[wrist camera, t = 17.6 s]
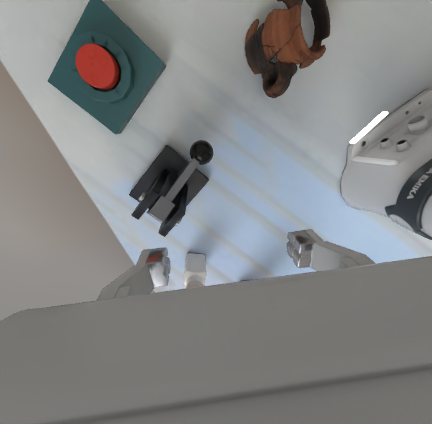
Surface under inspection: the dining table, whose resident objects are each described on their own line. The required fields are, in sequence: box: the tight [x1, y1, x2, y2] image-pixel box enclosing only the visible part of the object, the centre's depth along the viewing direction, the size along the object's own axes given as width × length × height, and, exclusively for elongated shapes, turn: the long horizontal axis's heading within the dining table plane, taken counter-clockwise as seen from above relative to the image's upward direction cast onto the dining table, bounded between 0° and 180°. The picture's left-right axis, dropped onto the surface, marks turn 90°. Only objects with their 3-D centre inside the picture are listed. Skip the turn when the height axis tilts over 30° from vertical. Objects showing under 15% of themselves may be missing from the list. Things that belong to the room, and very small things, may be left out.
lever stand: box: [129, 145, 209, 237], centre depth 31 cm, size 11×9×12 cm
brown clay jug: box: [245, 0, 330, 98], centre depth 28 cm, size 12×10×8 cm
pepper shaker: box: [183, 253, 206, 289], centre depth 40 cm, size 4×4×10 cm
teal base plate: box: [48, 0, 166, 134], centre depth 27 cm, size 12×10×4 cm
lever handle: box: [147, 140, 213, 222], centre depth 28 cm, size 13×3×3 cm, turn 139°
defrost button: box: [76, 44, 119, 90], centre depth 25 cm, size 4×4×2 cm
